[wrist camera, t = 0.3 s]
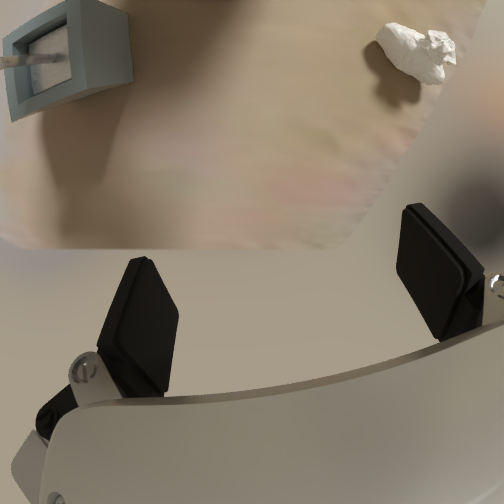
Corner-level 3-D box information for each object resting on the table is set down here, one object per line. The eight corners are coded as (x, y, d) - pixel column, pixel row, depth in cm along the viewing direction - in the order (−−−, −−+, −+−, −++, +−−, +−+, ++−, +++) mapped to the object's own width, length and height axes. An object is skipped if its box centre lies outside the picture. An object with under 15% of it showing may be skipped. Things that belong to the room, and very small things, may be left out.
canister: (62, 39, 25) (2, 38, 13) (127, 13, 25) (80, -7, 13) (70, 102, 31) (11, 122, 20) (134, 81, 31) (87, 88, 20)
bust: (421, 76, 33) (472, 53, 22) (419, 105, 32) (479, 82, 21) (367, 27, 29) (417, -9, 18) (360, 51, 28) (419, 11, 17)
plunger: (32, 44, 17) (-79, 62, 3) (78, 21, 17) (-36, 11, 3) (37, 94, 21) (-74, 137, 7) (83, 74, 21) (-36, 100, 7)
